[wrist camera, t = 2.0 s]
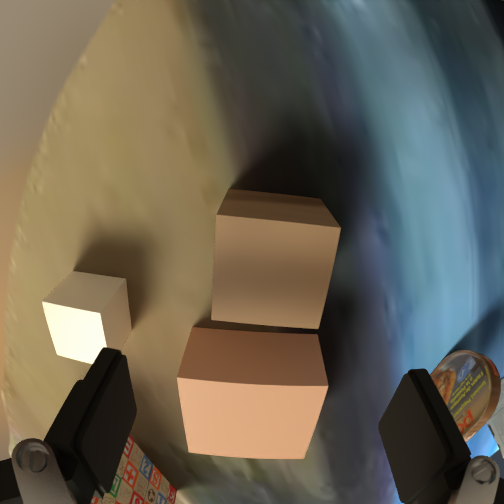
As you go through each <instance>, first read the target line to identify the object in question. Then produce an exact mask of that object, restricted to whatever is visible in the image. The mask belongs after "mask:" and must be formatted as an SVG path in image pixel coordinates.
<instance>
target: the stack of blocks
mask: <svg viewBox="0 0 504 504" xmlns="http://www.w3.org/2000/svg"><path fill="white" fill-rule="evenodd" d="M176 492H177V491H176V490H175V489H174V488H173V487H172V486H171V485H170V483H169V482H168V481H167V479H166V478H165V477H164V476H163V475H162V474H161V473H160V471H159V470H158V469H157V468H156V467H155V466H154V465H153V464H152V462H151V461H150V460H149V459H148V458H147V457H146V455H145V454H144V453H143V452H142V451H141V449H140V448H139V447H138V446H137V444H136V443H135V442H134V440H133V439H132V437H131V436H130V435H129V437H128V440H127V443H126V446H125V449H124V451H123V454H122V457H121V460H120V463H119V466H118V469H117V473H116V476H115V479H114V482H113V485H112V488H111V491H110V492H109V493H108V494H107V493H105V494H104V497H103V499H100V498H97V497H94V496H93V498H92V501H91V504H174V503H175V499H176Z"/></svg>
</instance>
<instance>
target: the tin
mask: <svg viewBox="0 0 504 504" xmlns="http://www.w3.org/2000/svg"><path fill="white" fill-rule="evenodd" d="M430 376H431V378H432V380H433V382H434V383H435V385H436V387H437V389H438V391H439V392H440V394H441V396H442V398H443V400H444V401H445V403H446V405H447V407H448V409H449V411H450V413H451V415H452V416H453V418H454V420H455V422H456V424H457V426H458V428H459V430H460V432H461V434H462V436H463V438H464V440H465V442H467V441H468V440H469V439H470V438H471V437H472V436H473V435H475V433H476V432H478V431H479V430H480V429H481V428H482V427H483V426H484V425H485V424H486V423H487V421H488V420H489V419H490V418H491V416H492V415H493V413H494V412H495V410H496V407H497V405H498V402H499V398H500V393H501V379H500V375H499V372H498V370H497V368H496V366H495V364H494V363H493V362H492V361H491V360H490V359H489V358H488V357H486V356H485V355H482V354H479V353H476V352H474V351H471V350H458V351H455V352H453V353H451V354H449V355H448V356H446V357H445V358H444V359H443V360H442V361H441V362H440V363H439V364H438V366H437V367H436V368H435V369H434V371H433V372H432V373H431V375H430Z"/></svg>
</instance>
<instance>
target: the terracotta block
mask: <svg viewBox="0 0 504 504" xmlns="http://www.w3.org/2000/svg"><path fill="white" fill-rule="evenodd" d="M177 382H178V389H179V396H180V402H181V409H182V415H183V421H184V427H185V433H186V439H187V444H188V450H189V452H191V453H199V454H208V455H217V456H229V457H243V458H265V459H304V456H305V454H306V451H307V448H308V446H309V443H310V440H311V437H312V434H313V432H314V429H315V426H316V423H317V420H318V417H319V414H320V411H321V408H322V405H323V402H324V399H325V396H326V392H327V389H328V381H327V376H326V372H325V367H324V362H323V358H322V353H321V348H320V344H319V339H318V335H317V334H292V333H269V332H252V331H236V330H223V329H210V328H199V327H192V329H191V332H190V336H189V339H188V342H187V345H186V349H185V352H184V355H183V359H182V362H181V365H180V369H179V372H178V375H177Z"/></svg>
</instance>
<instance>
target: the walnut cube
mask: <svg viewBox="0 0 504 504" xmlns="http://www.w3.org/2000/svg"><path fill="white" fill-rule="evenodd" d="M340 230H341V227H340V226H339V224H338V223H337V222H336V220H335V219H334V217H333V216H332V214H331V213H330V212H329V210H328V209H327V207H326V206H325V204H324V203H323V202H322V200H321V199H319V198H311V197H303V196H294V195H286V194H277V193H267V192H258V191H247V190H237V189H228V191H227V193H226V195H225V198H224V200H223V202H222V204H221V206H220V208H219V210H218V213H217V215H216V230H215V248H214V268H213V290H212V315H211V320H218V321H227V322H237V323H247V324H258V325H269V326H282V327H295V328H310V329H318V328H319V325H320V321H321V317H322V312H323V308H324V304H325V300H326V296H327V291H328V287H329V283H330V278H331V274H332V269H333V265H334V260H335V255H336V250H337V245H338V240H339V235H340Z"/></svg>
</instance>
